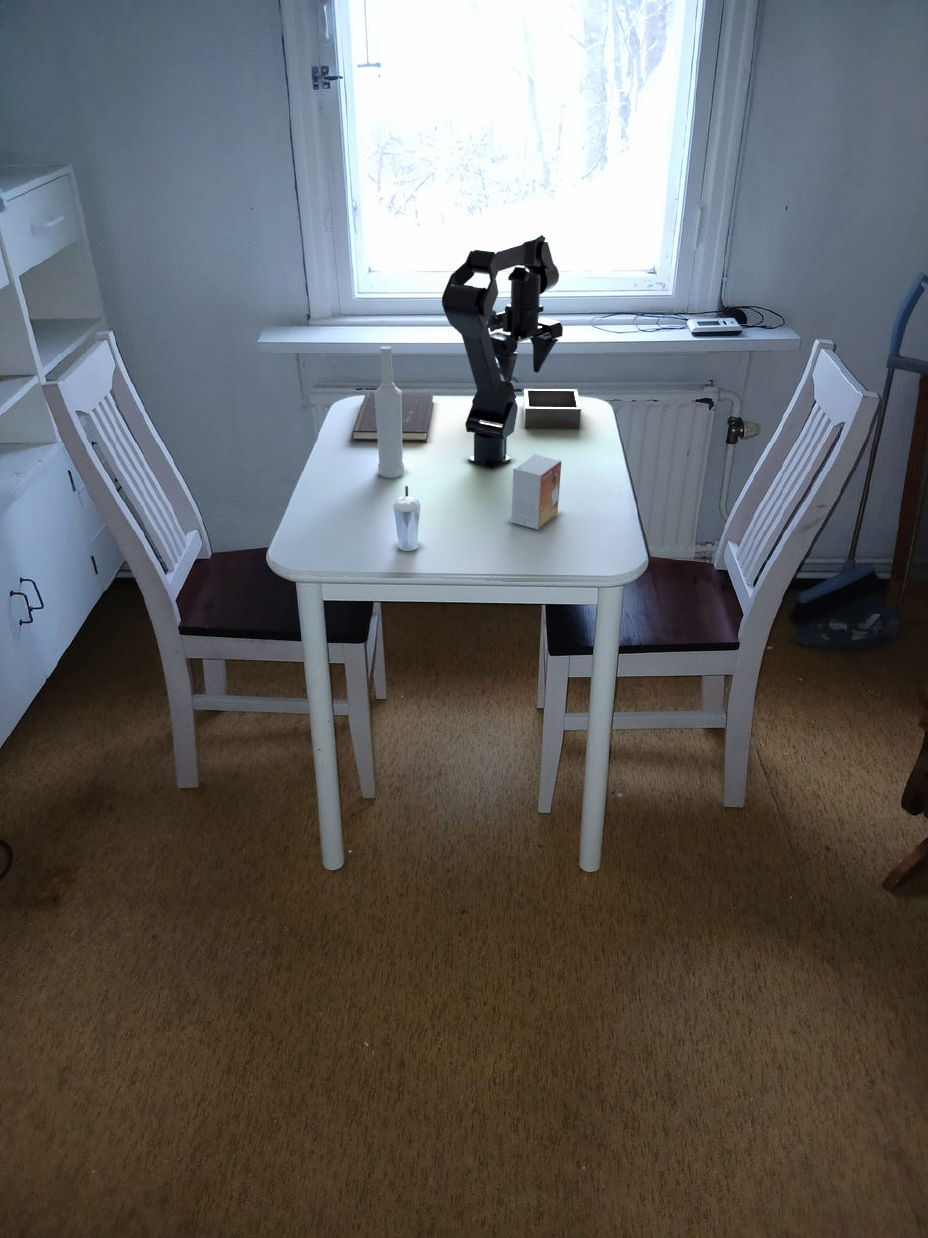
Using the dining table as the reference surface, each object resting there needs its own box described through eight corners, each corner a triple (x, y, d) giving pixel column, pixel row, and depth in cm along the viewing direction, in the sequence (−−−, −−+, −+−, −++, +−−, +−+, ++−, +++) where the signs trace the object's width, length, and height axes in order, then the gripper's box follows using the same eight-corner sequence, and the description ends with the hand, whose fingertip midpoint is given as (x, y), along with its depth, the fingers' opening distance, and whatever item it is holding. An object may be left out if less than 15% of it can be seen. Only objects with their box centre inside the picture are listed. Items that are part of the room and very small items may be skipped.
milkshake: (421, 538, 160) (420, 485, 154) (421, 553, 155) (420, 499, 150) (395, 538, 159) (393, 485, 154) (394, 553, 155) (392, 500, 149)
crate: (579, 428, 202) (581, 408, 199) (524, 427, 202) (525, 408, 199) (575, 408, 212) (577, 389, 209) (523, 407, 212) (524, 388, 209)
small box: (537, 530, 162) (540, 476, 156) (510, 522, 164) (512, 468, 159) (558, 513, 168) (562, 460, 162) (532, 506, 170) (534, 453, 164)
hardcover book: (433, 403, 214) (433, 393, 213) (426, 442, 195) (426, 431, 194) (365, 402, 214) (364, 392, 213) (352, 440, 195) (351, 430, 194)
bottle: (373, 475, 181) (366, 349, 167) (387, 465, 185) (381, 341, 171) (395, 480, 179) (390, 353, 165) (409, 470, 183) (405, 345, 169)
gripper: (524, 284, 192) (521, 358, 201) (463, 301, 181) (462, 378, 190) (566, 294, 186) (561, 370, 194) (505, 312, 175) (503, 392, 183)
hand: (521, 377), depth 191 cm, fingers open, 9 cm apart
